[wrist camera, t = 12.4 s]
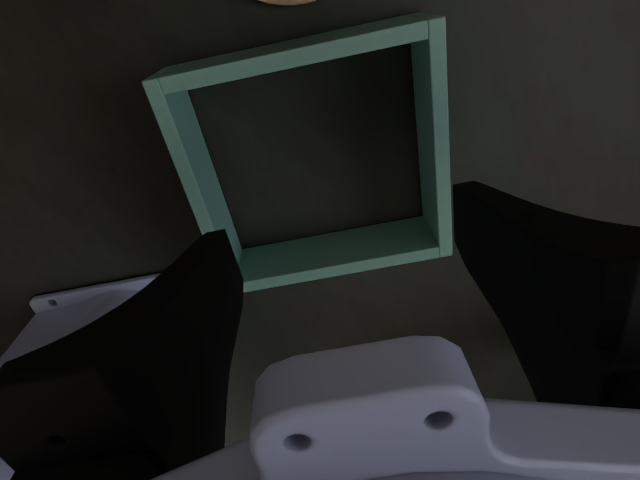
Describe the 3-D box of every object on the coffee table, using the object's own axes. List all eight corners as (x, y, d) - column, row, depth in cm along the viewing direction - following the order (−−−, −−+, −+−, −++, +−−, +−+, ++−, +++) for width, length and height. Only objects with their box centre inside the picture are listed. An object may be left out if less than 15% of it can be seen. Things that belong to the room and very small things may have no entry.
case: (234, 260, 26) (226, 296, 23) (164, 66, 20) (140, 81, 17) (434, 223, 25) (453, 255, 22) (423, 10, 19) (445, 16, 16)
